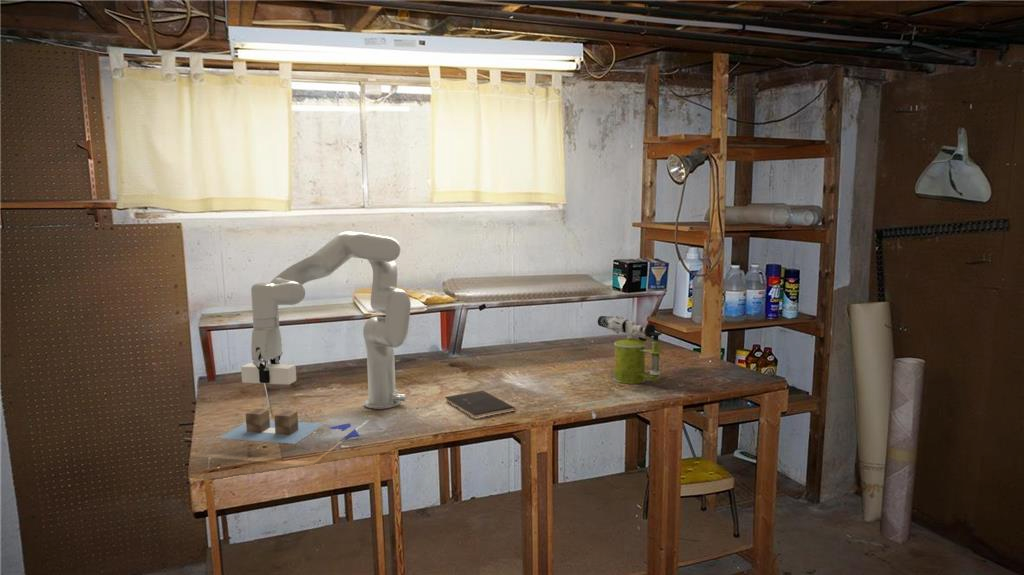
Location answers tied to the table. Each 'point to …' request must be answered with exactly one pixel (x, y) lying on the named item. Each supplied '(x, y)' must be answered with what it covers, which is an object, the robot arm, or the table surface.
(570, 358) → the table surface
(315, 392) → the table surface
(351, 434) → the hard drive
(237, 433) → the board
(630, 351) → the blowtorch
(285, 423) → the post
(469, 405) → the hardcover book
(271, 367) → the beam
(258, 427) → the post
